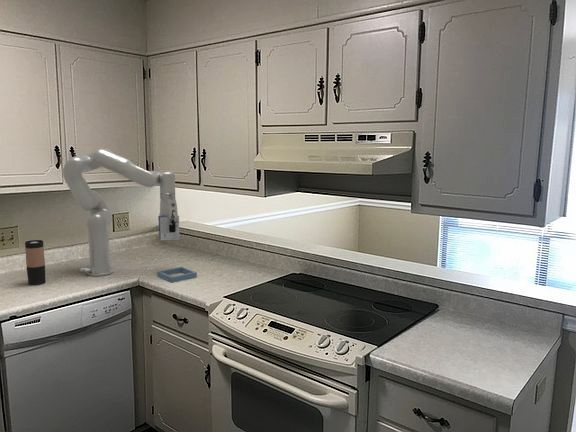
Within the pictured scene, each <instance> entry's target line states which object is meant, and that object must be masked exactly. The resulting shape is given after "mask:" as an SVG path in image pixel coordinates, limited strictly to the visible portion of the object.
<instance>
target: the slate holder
mask: <svg viewBox="0 0 576 432" xmlns="http://www.w3.org/2000/svg"><path fill="white" fill-rule="evenodd" d="M156 273H157V275H156V277H158V278H160V279H162V280H165V281H167V282H170V283H177V282H181V280H182V281H186V280H191V279H193V278H194V279H195V278H197V277H198V275H197V273H198V272H197V271H195V270H192V269H189V268H187V267H184V266H177V267H173V268H168V269H164V270H162V269H161V270H158V271H157V272H156ZM178 273H182V274H179V275H174V274H178ZM171 275H174V276H171Z"/></svg>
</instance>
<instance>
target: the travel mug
mask: <svg viewBox="0 0 576 432" xmlns="http://www.w3.org/2000/svg"><path fill="white" fill-rule="evenodd" d="M24 247H25V250H24V251H25V264H26V273H27V281H28V282H27V283H28V285H29V286H41V285H43V284H46V261H45V249H44V248H45V246H44V240H42V239H41V240H40V239H34V240H33V239H32V240H27V241H25V242H24Z"/></svg>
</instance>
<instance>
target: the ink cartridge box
mask: <svg viewBox="0 0 576 432" xmlns="http://www.w3.org/2000/svg"><path fill="white" fill-rule="evenodd" d="M157 218H158V239H159V241H161V242H162V241H174V240H175V241H176V240H180V216H179V215H178V219H177V221H176V224H175V228H176V231H175V232H169V225H170V222H169V219H167V217H166V216H160V215H158V216H157ZM171 218H173V217H171ZM171 221H172V220H171Z"/></svg>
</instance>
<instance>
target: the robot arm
mask: <svg viewBox="0 0 576 432" xmlns="http://www.w3.org/2000/svg"><path fill="white" fill-rule="evenodd" d="M100 168H104V169H107V170H109V171H111V172H113V173H116V174H119V175H120V176H122V177H124V178H126V179H128V180H129V181H132V183H133V182H134V183H137V184H139V185H141V186H143V187H146V188H152V187H155V186H159V199H160V200H159V201H160V203H159V213H158V216H166V217H167V219H169V222H170V225H169V232H175V231H176V228H175V224H176V221H177V219H178V216H179V214H178V205H177V204H178V203H177V199H176V173H175V172H173V171H157V170H150V171H148V170H146V169H144V168H142V167H139V166H137V165H136V164H134V162H132V161H131V160H130V159H128V158H126V157H124V156H121V155H119V154H116V153H114V152H113V151H112V150H111V149H109V148H106V147H105V148H102V147H101V148H97V149H95V150H94V151H93V152H90V153H87V154H83V155H76V156H72V157H70V158H69V159H68V160H66V161H65V163H64V166H63V167H62V176H63V179H64V181H65V183H66V185H67V187H68V188H69V190H70V192H71V195H72V196H73V198H74V200H75V202H76V203H77V205H78V207H79V209H80V210H82V211H84V212H88V213H89V215H88V217H87V219H86V221H85V226H86V230H87V239H88V254H89V255H88V257H89V264H87V266H86V267H80V268H79V272H81V273H82V272H84V273H86V275H87V276H90V277H104V276H109V275H111V274H113V273H114V271H115V270H114V268H112V267H111V260H110V259H111V257H110V255H111V253H110V238H109V231H108V227H109V226H110V225H111V224H112V222H113V215H112V213H111V210H110V208H109V206H108V204H107V202H106V201H105V199H104V197H103V196H102V195H101V194H100V192H98V191H96V190H93V189H91V188H90V186H89V184H88V182H87V181H86V179H85V177H84V176H83V174H84V173H90V172H92V171H94V170H97V169H100ZM171 217H173V218H171ZM171 220H172V221H171Z"/></svg>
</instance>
